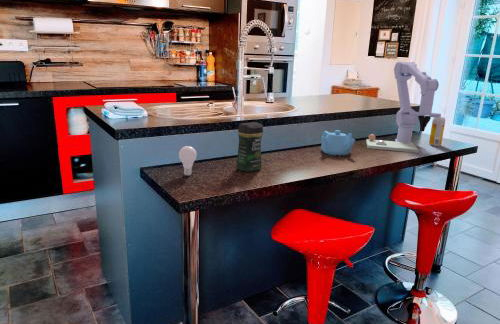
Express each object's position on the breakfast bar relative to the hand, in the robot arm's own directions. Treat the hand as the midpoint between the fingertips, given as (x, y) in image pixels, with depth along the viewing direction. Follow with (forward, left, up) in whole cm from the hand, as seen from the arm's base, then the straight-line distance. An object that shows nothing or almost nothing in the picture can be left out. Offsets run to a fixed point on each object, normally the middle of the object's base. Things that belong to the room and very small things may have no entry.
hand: (422, 130), depth 195 cm
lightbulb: (+83, -92, -10) cm, 124 cm away
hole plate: (+1, -14, -9) cm, 17 cm away
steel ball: (+3, -19, -8) cm, 21 cm away
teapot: (+25, -41, -10) cm, 49 cm away
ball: (-4, -24, -6) cm, 25 cm away
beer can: (-14, +10, -10) cm, 20 cm away
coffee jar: (+67, -73, -10) cm, 100 cm away
